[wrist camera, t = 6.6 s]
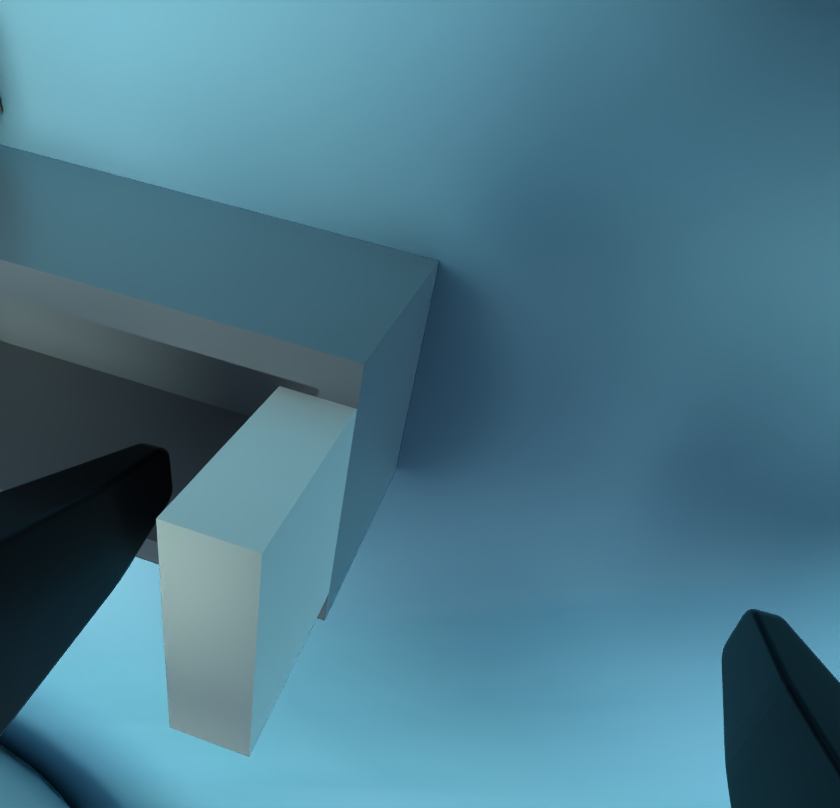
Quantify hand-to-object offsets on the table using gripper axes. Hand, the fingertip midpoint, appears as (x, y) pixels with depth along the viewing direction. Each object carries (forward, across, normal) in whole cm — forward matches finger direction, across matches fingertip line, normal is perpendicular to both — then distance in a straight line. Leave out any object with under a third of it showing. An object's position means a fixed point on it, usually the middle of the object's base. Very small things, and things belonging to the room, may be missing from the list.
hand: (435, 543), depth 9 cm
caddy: (+5, +8, 0) cm, 9 cm away
